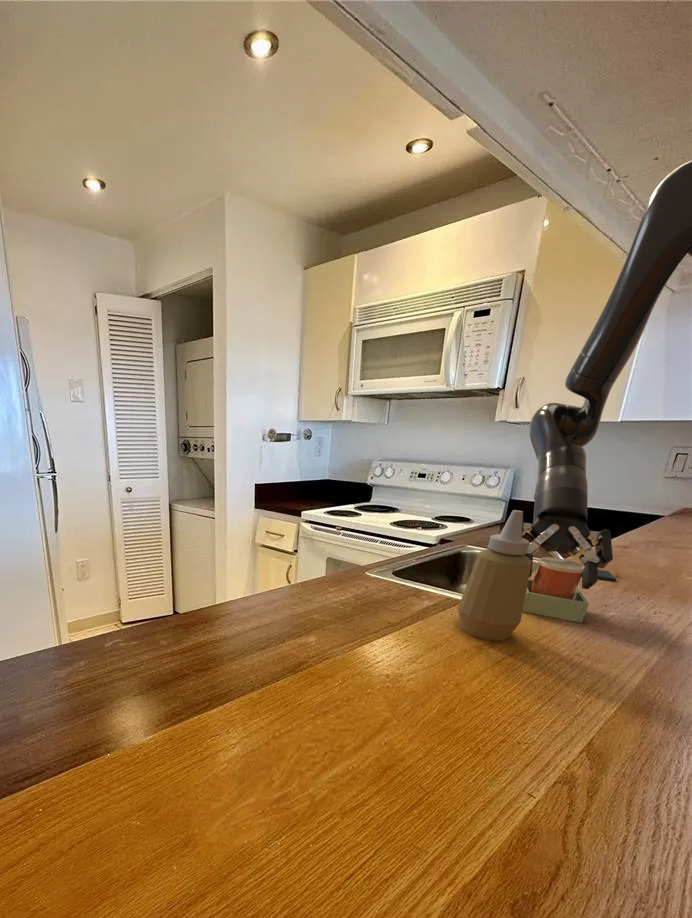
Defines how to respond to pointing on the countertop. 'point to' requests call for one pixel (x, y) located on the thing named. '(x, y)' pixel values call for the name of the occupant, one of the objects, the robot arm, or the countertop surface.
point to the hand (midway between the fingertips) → (557, 582)
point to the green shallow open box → (556, 605)
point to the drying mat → (605, 575)
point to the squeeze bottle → (497, 584)
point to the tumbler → (557, 577)
